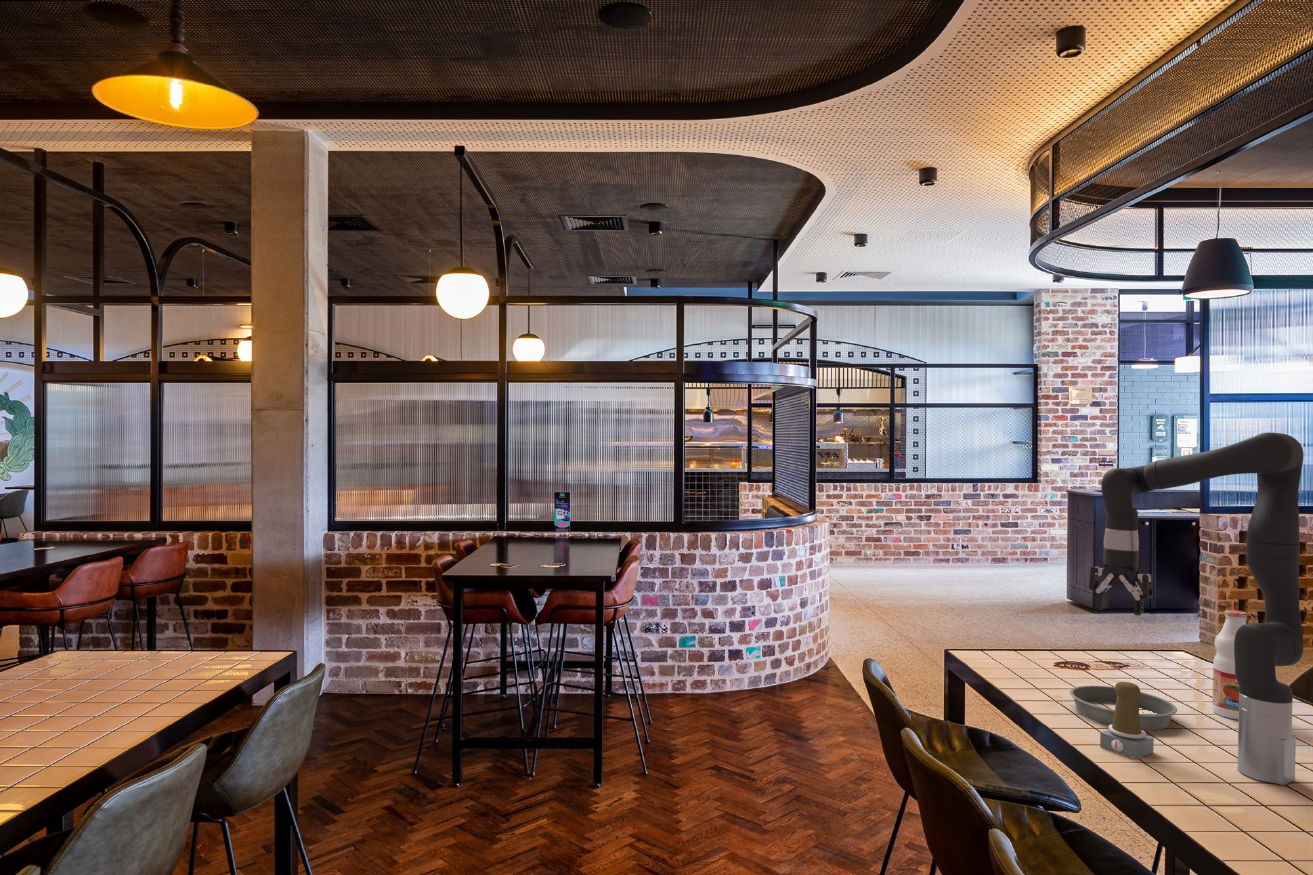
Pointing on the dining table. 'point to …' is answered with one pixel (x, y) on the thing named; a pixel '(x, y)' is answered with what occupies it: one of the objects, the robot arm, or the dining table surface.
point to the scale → (1127, 743)
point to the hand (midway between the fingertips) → (1119, 611)
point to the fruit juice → (1227, 667)
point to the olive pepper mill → (1127, 709)
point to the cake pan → (1108, 695)
